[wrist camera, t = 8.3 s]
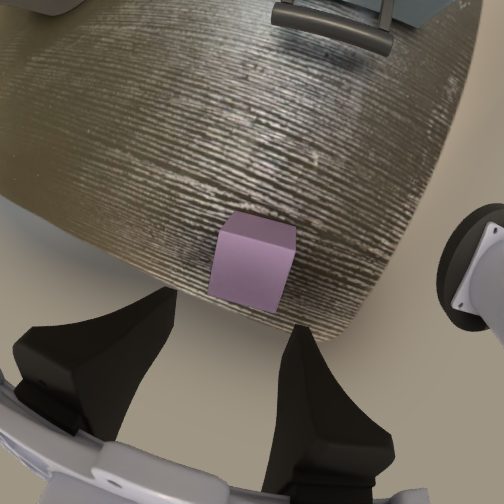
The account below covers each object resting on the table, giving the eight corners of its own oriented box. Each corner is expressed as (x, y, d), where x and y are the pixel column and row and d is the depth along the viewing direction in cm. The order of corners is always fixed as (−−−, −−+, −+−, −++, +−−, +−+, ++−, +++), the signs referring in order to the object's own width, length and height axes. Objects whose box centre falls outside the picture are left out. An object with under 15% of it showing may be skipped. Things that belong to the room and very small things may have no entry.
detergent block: (296, 226, 20) (296, 250, 16) (279, 281, 22) (275, 314, 18) (234, 209, 21) (219, 229, 16) (222, 265, 22) (206, 295, 18)
